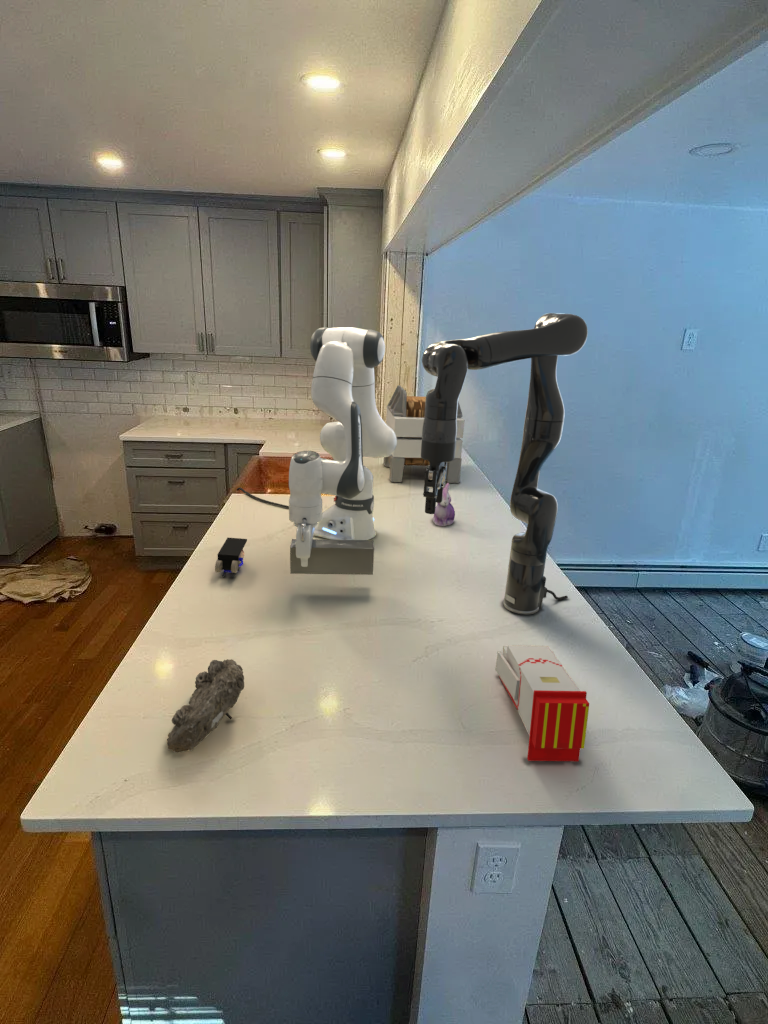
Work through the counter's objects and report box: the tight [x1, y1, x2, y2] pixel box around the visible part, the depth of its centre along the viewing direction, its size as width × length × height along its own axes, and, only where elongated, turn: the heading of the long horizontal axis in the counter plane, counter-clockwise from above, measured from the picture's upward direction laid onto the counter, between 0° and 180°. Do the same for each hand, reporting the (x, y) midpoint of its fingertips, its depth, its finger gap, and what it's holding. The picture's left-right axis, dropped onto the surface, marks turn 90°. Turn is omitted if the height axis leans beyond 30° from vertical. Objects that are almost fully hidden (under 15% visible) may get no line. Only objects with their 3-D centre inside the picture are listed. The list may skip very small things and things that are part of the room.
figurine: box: [432, 482, 456, 527], centre depth 210 cm, size 9×10×15 cm
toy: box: [494, 644, 590, 762], centre depth 112 cm, size 12×13×30 cm
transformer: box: [383, 384, 465, 484], centre depth 268 cm, size 34×33×41 cm
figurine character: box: [214, 537, 248, 578], centre depth 166 cm, size 7×8×15 cm
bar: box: [289, 538, 375, 576], centre depth 156 cm, size 22×6×8 cm, turn 93°
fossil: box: [166, 658, 245, 754], centre depth 106 cm, size 22×10×15 cm
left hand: (305, 560), depth 156 cm, fingers closed on bar, 6 cm apart
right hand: (433, 507), depth 130 cm, fingers open, 8 cm apart
